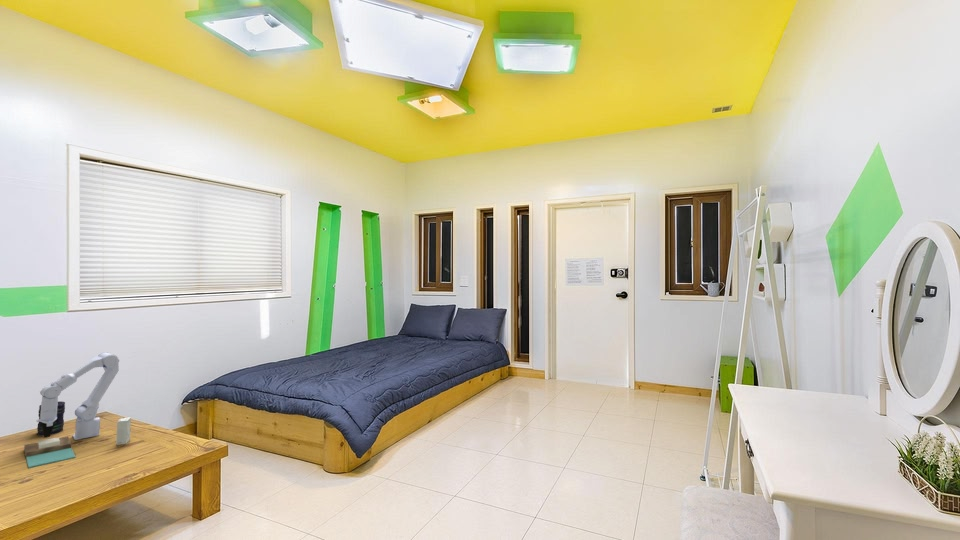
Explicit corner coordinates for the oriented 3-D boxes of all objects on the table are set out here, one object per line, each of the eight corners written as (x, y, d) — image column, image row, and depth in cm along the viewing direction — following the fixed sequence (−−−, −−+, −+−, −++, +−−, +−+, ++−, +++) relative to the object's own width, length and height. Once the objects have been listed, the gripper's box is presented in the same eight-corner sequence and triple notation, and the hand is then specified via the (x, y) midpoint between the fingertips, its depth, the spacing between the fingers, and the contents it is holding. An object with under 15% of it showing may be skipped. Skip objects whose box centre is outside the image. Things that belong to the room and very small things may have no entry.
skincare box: (126, 444, 210) (128, 420, 210) (115, 445, 208) (116, 421, 208) (130, 439, 216) (132, 416, 216) (119, 440, 214) (121, 417, 214)
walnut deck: (67, 441, 209) (68, 436, 209) (71, 448, 202) (71, 443, 202) (24, 449, 197) (24, 444, 198) (26, 457, 190) (26, 452, 190)
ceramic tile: (58, 441, 203) (58, 437, 203) (59, 444, 200) (59, 440, 200) (37, 445, 198) (37, 441, 198) (38, 449, 194) (39, 444, 194)
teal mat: (71, 448, 201) (71, 447, 201) (75, 457, 193) (75, 456, 193) (26, 458, 190) (26, 456, 190) (28, 468, 181) (28, 466, 181)
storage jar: (53, 427, 224) (55, 400, 225) (68, 429, 223) (70, 402, 223) (31, 434, 215) (33, 406, 215) (46, 436, 213) (49, 408, 213)
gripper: (36, 407, 205) (33, 434, 205) (38, 415, 196) (36, 443, 196) (56, 404, 211) (53, 431, 211) (59, 411, 202) (57, 439, 201)
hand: (46, 436), depth 204 cm, fingers closed
